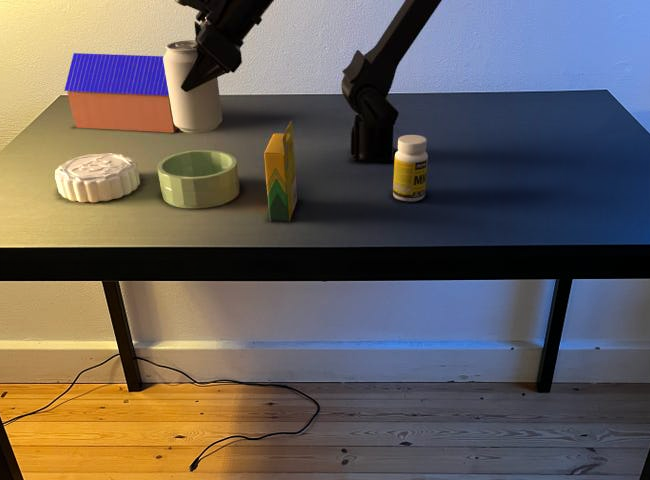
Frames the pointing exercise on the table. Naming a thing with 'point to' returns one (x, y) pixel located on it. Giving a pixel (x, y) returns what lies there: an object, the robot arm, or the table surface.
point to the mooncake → (97, 177)
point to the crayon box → (281, 175)
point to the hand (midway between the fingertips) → (183, 82)
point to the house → (119, 92)
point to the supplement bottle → (410, 168)
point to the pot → (199, 179)
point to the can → (197, 104)
